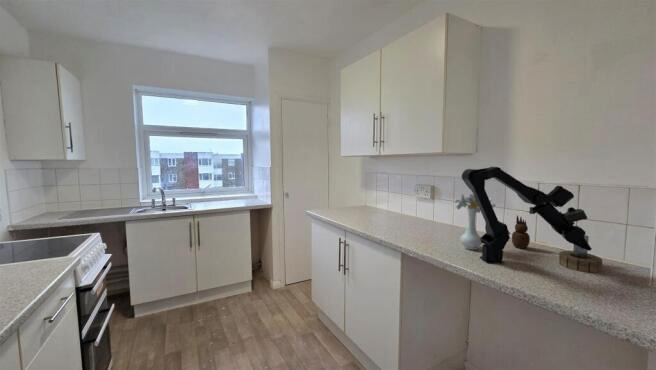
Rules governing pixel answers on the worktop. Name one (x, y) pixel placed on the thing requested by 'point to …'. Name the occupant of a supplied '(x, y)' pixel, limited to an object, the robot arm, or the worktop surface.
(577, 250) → the tall steel post
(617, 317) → the worktop surface
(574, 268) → the segmented wooden ring
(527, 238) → the wooden figurine
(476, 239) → the flower vase
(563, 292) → the worktop surface
